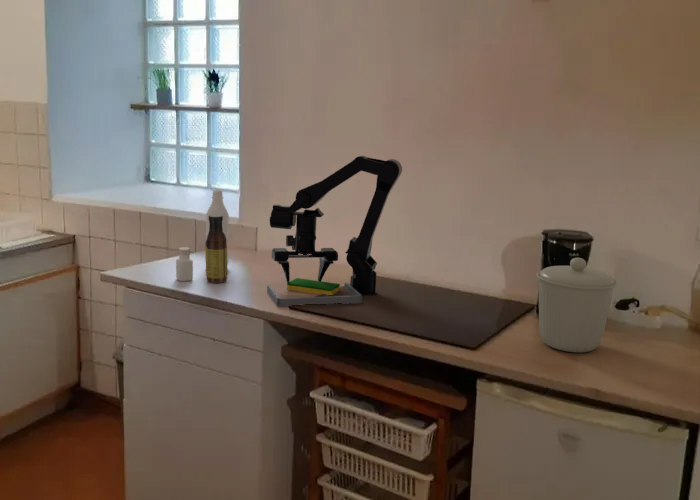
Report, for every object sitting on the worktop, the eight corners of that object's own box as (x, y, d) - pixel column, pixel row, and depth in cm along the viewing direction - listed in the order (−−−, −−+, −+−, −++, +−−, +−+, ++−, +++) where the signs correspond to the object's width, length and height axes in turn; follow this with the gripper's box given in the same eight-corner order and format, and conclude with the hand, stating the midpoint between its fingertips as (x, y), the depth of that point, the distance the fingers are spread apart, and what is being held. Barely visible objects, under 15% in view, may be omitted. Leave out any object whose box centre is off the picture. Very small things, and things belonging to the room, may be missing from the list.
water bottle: (209, 265, 232) (210, 188, 227) (231, 267, 231) (232, 189, 226) (202, 270, 225) (202, 191, 220) (224, 272, 224) (225, 192, 219)
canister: (563, 362, 157) (574, 268, 152) (514, 337, 173) (522, 251, 169) (627, 354, 164) (638, 264, 160) (573, 330, 180) (582, 248, 176)
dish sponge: (331, 297, 202) (331, 289, 202) (286, 291, 207) (286, 282, 206) (339, 291, 209) (340, 283, 208) (296, 285, 213) (296, 277, 213)
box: (346, 289, 210) (347, 282, 210) (362, 303, 196) (362, 296, 196) (267, 291, 203) (267, 285, 203) (277, 306, 189) (277, 299, 189)
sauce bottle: (217, 277, 217) (217, 212, 213) (231, 281, 213) (232, 215, 209) (200, 281, 211) (200, 214, 207) (215, 285, 208) (216, 217, 204)
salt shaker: (193, 280, 212) (193, 249, 210) (180, 282, 210) (180, 250, 208) (188, 277, 215) (188, 246, 213) (175, 279, 213) (175, 247, 211)
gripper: (330, 225, 217) (327, 275, 220) (269, 225, 212) (267, 276, 215) (339, 233, 207) (337, 285, 210) (276, 232, 201) (274, 286, 205)
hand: (303, 283), depth 210 cm, fingers open, 9 cm apart
